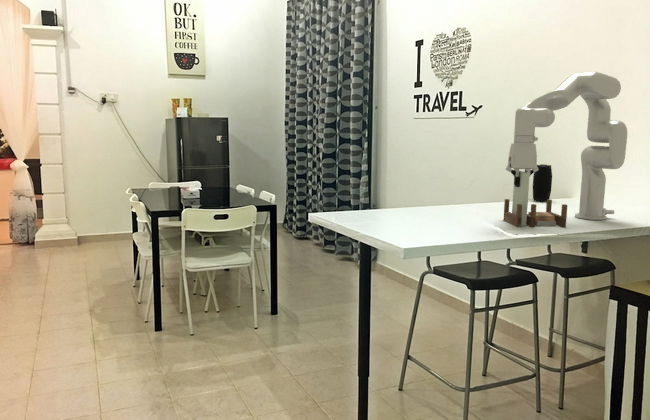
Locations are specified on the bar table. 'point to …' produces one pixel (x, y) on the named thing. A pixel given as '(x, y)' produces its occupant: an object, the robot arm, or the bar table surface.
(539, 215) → the offcut
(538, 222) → the offcut
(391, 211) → the bar table surface
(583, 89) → the robot arm
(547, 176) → the portable speaker
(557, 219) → the rack
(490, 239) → the bar table surface
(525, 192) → the sheet
